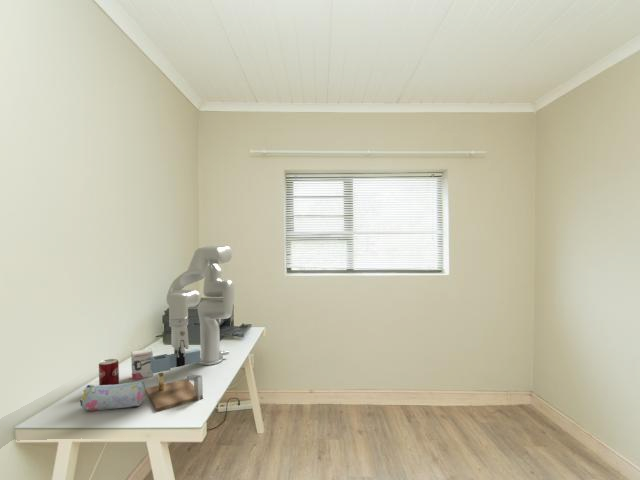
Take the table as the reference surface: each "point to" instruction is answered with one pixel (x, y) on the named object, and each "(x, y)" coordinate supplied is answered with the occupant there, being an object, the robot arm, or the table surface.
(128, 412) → the table surface
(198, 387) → the plate
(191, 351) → the link
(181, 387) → the board
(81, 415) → the table surface
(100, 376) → the soda can
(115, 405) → the pencil case
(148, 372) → the ink box
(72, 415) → the table surface
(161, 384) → the peg
